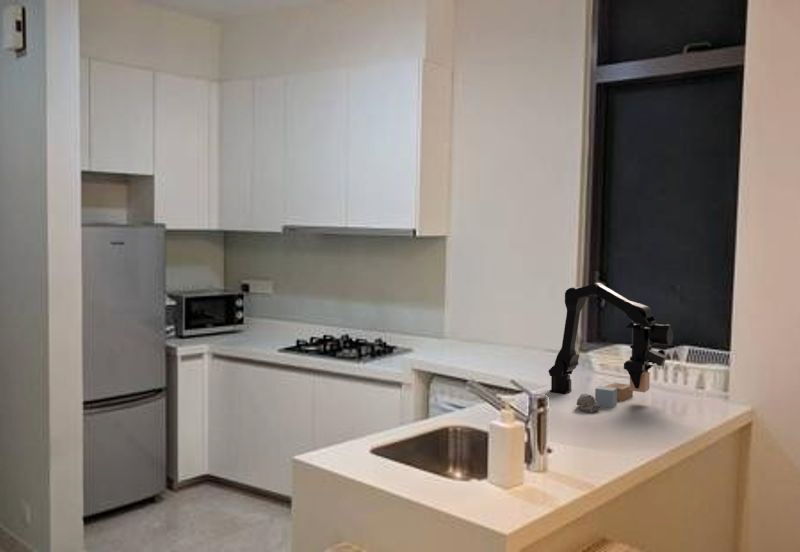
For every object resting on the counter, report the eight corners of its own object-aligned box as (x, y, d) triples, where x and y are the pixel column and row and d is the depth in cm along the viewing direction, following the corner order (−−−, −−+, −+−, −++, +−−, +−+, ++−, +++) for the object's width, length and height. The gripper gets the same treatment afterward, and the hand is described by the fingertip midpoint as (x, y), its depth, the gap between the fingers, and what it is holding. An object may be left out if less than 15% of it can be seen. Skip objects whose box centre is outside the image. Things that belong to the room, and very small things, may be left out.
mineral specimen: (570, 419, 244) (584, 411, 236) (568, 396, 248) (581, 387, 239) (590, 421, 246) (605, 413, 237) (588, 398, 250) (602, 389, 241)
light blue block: (595, 405, 248) (595, 388, 248) (599, 402, 252) (600, 385, 252) (612, 408, 245) (612, 390, 244) (617, 405, 249) (617, 387, 249)
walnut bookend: (603, 398, 259) (603, 386, 259) (614, 394, 266) (614, 382, 265) (622, 401, 254) (622, 389, 254) (632, 397, 261) (632, 385, 261)
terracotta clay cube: (644, 392, 246) (645, 375, 245) (629, 390, 249) (629, 373, 248) (649, 389, 251) (649, 372, 250) (634, 387, 254) (634, 370, 253)
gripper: (657, 347, 236) (656, 394, 237) (671, 340, 252) (670, 384, 253) (623, 344, 243) (622, 390, 243) (638, 338, 258) (638, 381, 259)
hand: (639, 386), depth 250 cm, fingers closed on terracotta clay cube, 6 cm apart
